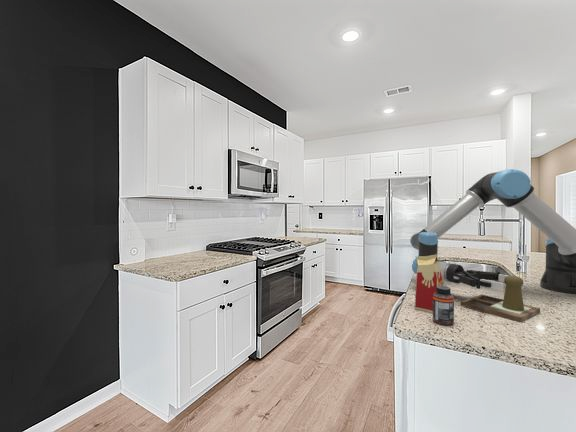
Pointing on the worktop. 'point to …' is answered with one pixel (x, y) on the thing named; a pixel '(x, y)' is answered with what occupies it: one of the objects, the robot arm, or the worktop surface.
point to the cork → (513, 293)
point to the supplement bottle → (443, 306)
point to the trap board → (499, 308)
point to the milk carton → (427, 282)
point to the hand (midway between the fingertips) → (511, 284)
